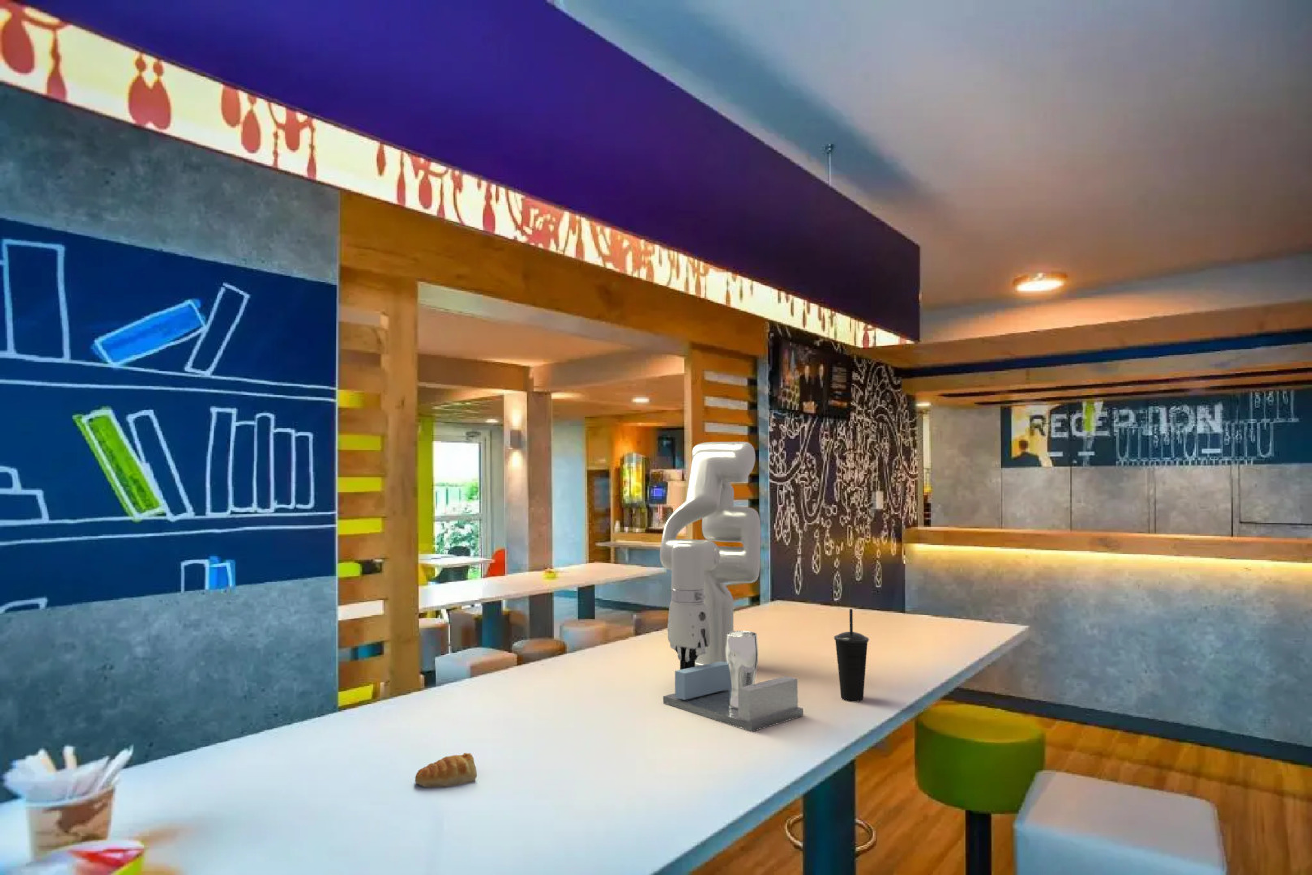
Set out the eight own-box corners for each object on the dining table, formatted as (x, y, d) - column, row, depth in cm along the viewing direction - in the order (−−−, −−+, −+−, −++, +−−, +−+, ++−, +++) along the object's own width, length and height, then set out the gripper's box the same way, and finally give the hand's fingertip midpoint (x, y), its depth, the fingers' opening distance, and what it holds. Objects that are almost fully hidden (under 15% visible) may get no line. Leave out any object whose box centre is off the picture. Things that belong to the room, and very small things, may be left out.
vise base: (663, 702, 168) (663, 668, 168) (714, 690, 178) (714, 658, 179) (751, 731, 148) (751, 692, 149) (803, 715, 159) (802, 679, 159)
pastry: (421, 794, 118) (421, 769, 118) (410, 780, 124) (410, 756, 124) (479, 782, 123) (480, 758, 123) (466, 769, 128) (467, 746, 129)
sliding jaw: (675, 696, 166) (675, 670, 167) (720, 685, 176) (720, 661, 176) (684, 699, 164) (684, 673, 164) (730, 688, 173) (730, 663, 174)
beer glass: (721, 707, 159) (720, 635, 160) (730, 699, 165) (730, 629, 166) (753, 711, 156) (753, 637, 157) (761, 703, 163) (761, 631, 164)
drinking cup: (866, 694, 175) (865, 606, 177) (872, 703, 168) (871, 612, 169) (832, 693, 176) (831, 606, 178) (837, 702, 169) (836, 611, 170)
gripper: (722, 598, 172) (722, 681, 171) (677, 591, 183) (677, 669, 182) (698, 601, 167) (698, 686, 166) (654, 594, 178) (653, 674, 177)
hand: (687, 677), depth 174 cm, fingers closed
